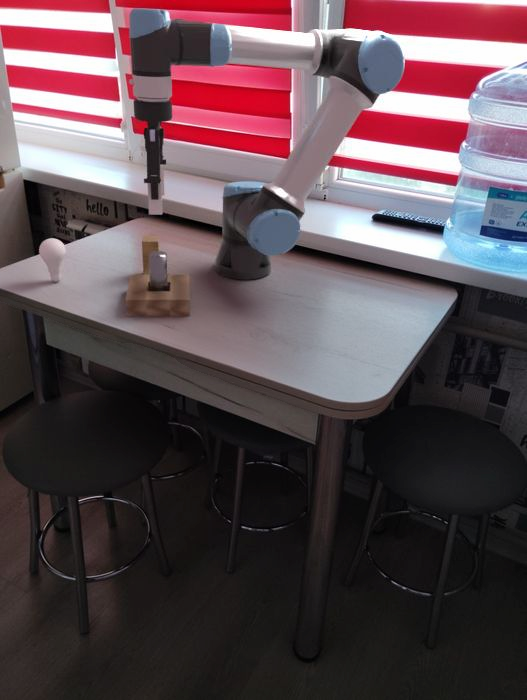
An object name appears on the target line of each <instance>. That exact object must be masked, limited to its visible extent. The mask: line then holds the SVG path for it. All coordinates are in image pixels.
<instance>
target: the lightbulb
mask: <svg viewBox="0 0 527 700" xmlns="http://www.w3.org/2000/svg"><path fill="white" fill-rule="evenodd" d="M38 253H39V256H40V258H41V259H42V261H43V262H44V263H45V265H46V267H47V270H48V273H49V276H50V280H51V281H53V282H54V283H58V282H60V281H61V280H62V271H63V262H64V260H65V258H66V255H67V248H66V246H65V244H64V243H63V242H62V241H61V240H59V239H57V238H53V237H51V238H47V239H45V240H43V241H42V242H41V243H40V245H39V249H38Z"/></svg>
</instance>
